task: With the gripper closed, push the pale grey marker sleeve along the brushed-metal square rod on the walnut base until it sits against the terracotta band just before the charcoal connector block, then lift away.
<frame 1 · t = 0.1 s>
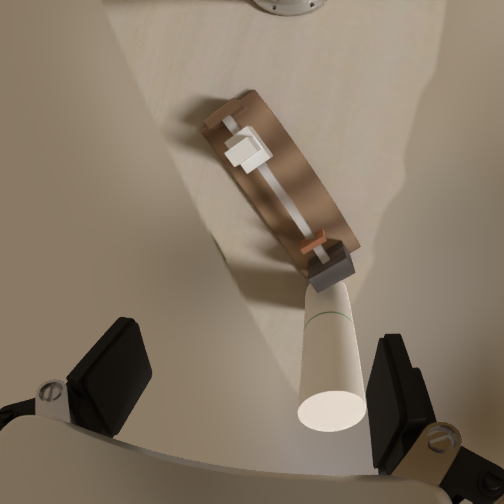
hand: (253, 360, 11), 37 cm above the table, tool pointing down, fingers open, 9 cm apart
cylindrical container: (326, 294, 51), on the table
sleeve: (246, 150, 37), point 7 cm above the table, slide at 0.0 cm
rail: (283, 185, 45), on the table
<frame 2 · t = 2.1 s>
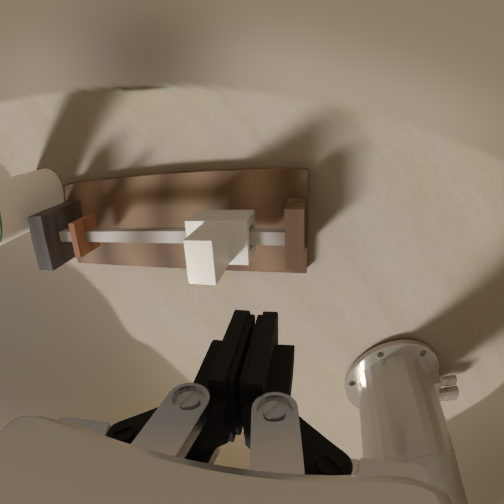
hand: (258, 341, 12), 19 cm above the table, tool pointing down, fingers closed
cylindrical container: (47, 194, 34), on the table
sleeve: (215, 243, 24), point 7 cm above the table, slide at 0.0 cm
rail: (171, 219, 32), on the table
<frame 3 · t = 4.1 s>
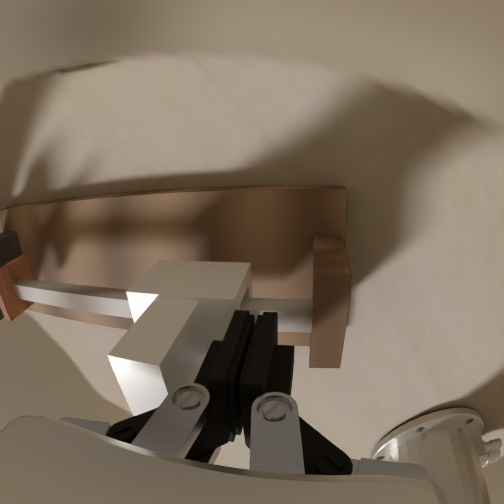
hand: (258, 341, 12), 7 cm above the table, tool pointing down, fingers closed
sleeve: (180, 333, 13), point 7 cm above the table, slide at 0.3 cm, touching gripper
rail: (132, 263, 21), on the table
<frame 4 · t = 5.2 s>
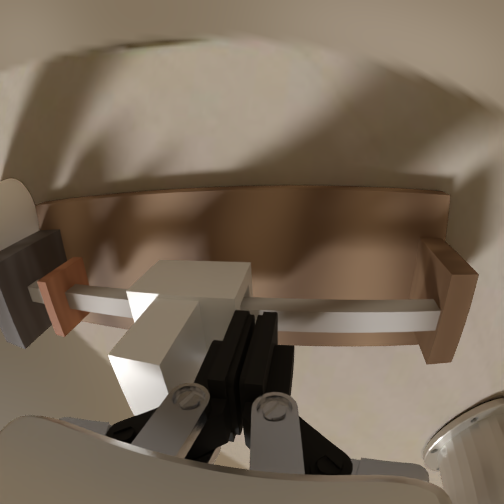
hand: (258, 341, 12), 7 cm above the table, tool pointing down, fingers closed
cylindrical container: (16, 216, 22), on the table
sleeve: (181, 333, 13), point 7 cm above the table, slide at 6.4 cm, touching gripper
rail: (213, 265, 20), on the table
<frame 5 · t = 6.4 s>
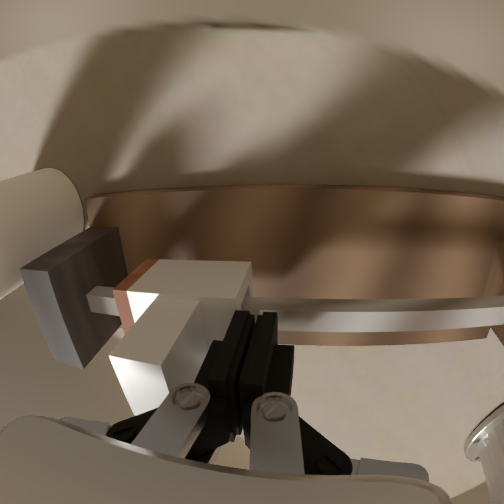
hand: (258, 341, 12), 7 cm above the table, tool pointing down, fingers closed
cylindrical container: (53, 211, 21), on the table
sleeve: (181, 333, 13), point 7 cm above the table, slide at 12.1 cm, touching gripper, rail
rail: (304, 267, 19), on the table
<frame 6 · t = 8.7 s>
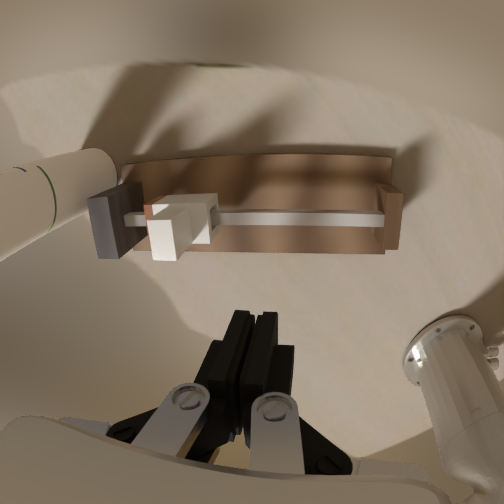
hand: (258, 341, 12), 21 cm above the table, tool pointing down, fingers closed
cylindrical container: (94, 176, 33), on the table
sleeve: (179, 224, 26), point 7 cm above the table, slide at 12.1 cm
rail: (251, 202, 32), on the table
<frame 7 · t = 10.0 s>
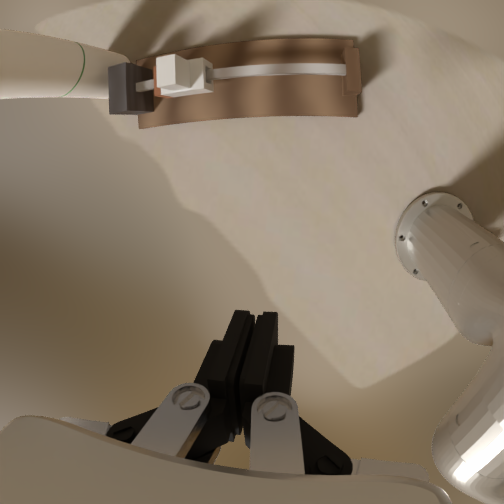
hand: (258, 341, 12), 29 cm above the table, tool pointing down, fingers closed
cylindrical container: (112, 76, 36), on the table
sleeve: (180, 75, 29), point 7 cm above the table, slide at 12.1 cm
rail: (240, 79, 34), on the table
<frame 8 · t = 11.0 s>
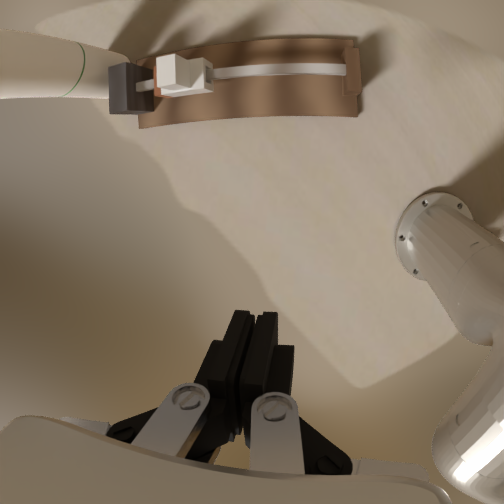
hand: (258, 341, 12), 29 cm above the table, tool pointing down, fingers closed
cylindrical container: (112, 76, 36), on the table
sleeve: (180, 75, 29), point 7 cm above the table, slide at 12.1 cm
rail: (240, 79, 34), on the table
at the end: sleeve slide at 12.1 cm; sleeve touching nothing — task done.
